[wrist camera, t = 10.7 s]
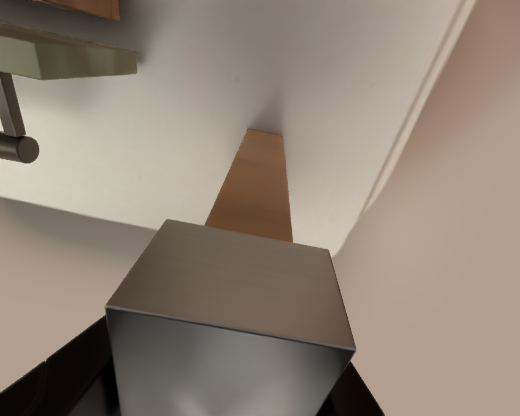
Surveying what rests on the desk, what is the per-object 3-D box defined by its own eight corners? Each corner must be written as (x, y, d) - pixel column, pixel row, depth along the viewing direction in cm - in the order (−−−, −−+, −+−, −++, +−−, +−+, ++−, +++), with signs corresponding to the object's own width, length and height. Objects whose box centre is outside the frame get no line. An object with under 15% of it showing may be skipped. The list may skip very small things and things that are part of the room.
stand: (268, 199, 20) (258, 369, 9) (237, 192, 20) (186, 356, 9) (283, 135, 18) (295, 259, 7) (247, 128, 18) (196, 240, 6)
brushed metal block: (276, 380, 9) (276, 483, 7) (163, 361, 9) (126, 460, 7) (329, 248, 6) (358, 350, 4) (166, 217, 6) (103, 305, 4)
